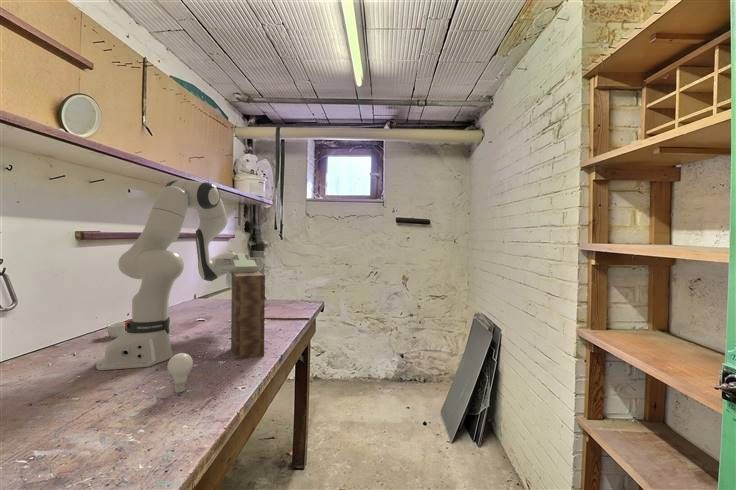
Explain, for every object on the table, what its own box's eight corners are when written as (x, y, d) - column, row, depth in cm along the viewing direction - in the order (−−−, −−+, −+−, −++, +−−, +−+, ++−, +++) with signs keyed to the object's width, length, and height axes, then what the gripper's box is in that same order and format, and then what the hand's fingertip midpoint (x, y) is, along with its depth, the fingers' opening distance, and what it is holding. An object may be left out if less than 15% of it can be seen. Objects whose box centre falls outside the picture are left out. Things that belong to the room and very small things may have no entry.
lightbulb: (185, 397, 96) (185, 357, 96) (162, 397, 96) (162, 357, 96) (197, 387, 102) (197, 350, 102) (175, 387, 102) (175, 349, 102)
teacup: (128, 337, 151) (128, 325, 150) (106, 340, 146) (106, 327, 146) (129, 332, 159) (129, 320, 159) (108, 334, 155) (108, 322, 154)
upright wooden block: (235, 360, 125) (236, 276, 125) (231, 348, 138) (231, 272, 137) (264, 356, 130) (264, 275, 129) (257, 345, 142) (258, 271, 142)
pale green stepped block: (235, 272, 136) (235, 266, 136) (230, 257, 153) (230, 252, 152) (256, 272, 140) (257, 266, 139) (249, 257, 156) (249, 251, 156)
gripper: (213, 264, 157) (214, 249, 146) (260, 263, 166) (265, 249, 156) (213, 277, 155) (215, 263, 144) (261, 275, 164) (266, 262, 153)
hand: (241, 256), depth 150 cm, fingers closed on pale green stepped block, 3 cm apart
